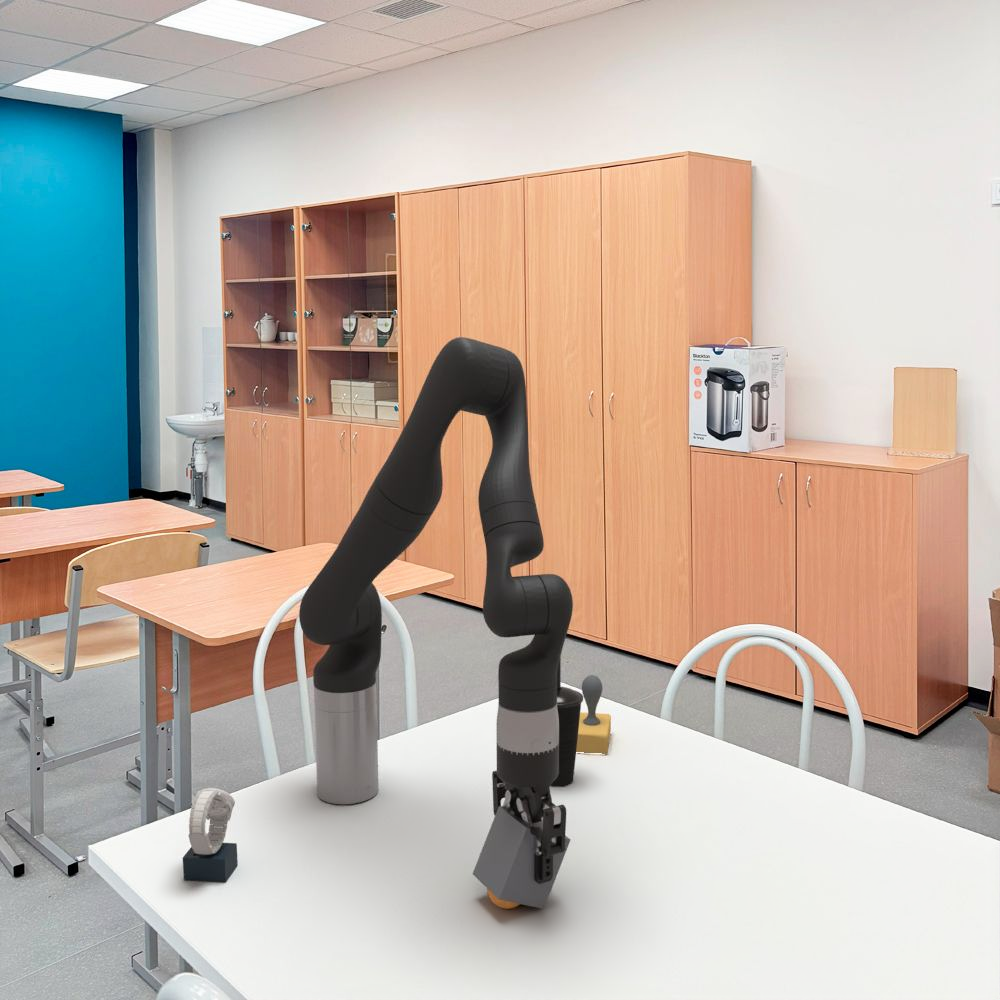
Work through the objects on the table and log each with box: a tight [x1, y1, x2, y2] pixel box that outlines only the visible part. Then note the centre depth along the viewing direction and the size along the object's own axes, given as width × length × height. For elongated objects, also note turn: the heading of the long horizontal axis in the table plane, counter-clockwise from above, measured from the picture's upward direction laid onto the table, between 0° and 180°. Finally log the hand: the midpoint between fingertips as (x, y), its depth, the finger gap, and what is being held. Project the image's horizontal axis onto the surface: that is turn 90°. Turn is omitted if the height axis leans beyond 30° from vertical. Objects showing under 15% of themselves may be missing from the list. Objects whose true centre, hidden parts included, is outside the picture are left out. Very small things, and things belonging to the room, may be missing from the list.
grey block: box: [472, 806, 571, 910], centre depth 127 cm, size 7×7×9 cm
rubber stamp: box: [576, 674, 612, 755], centre depth 176 cm, size 10×6×12 cm, turn 171°
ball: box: [486, 888, 521, 910], centre depth 127 cm, size 5×5×5 cm
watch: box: [182, 787, 239, 883], centre depth 134 cm, size 6×8×11 cm
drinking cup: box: [550, 657, 584, 787], centre depth 161 cm, size 8×8×20 cm
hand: (527, 867), depth 128 cm, fingers closed on grey block, 6 cm apart
